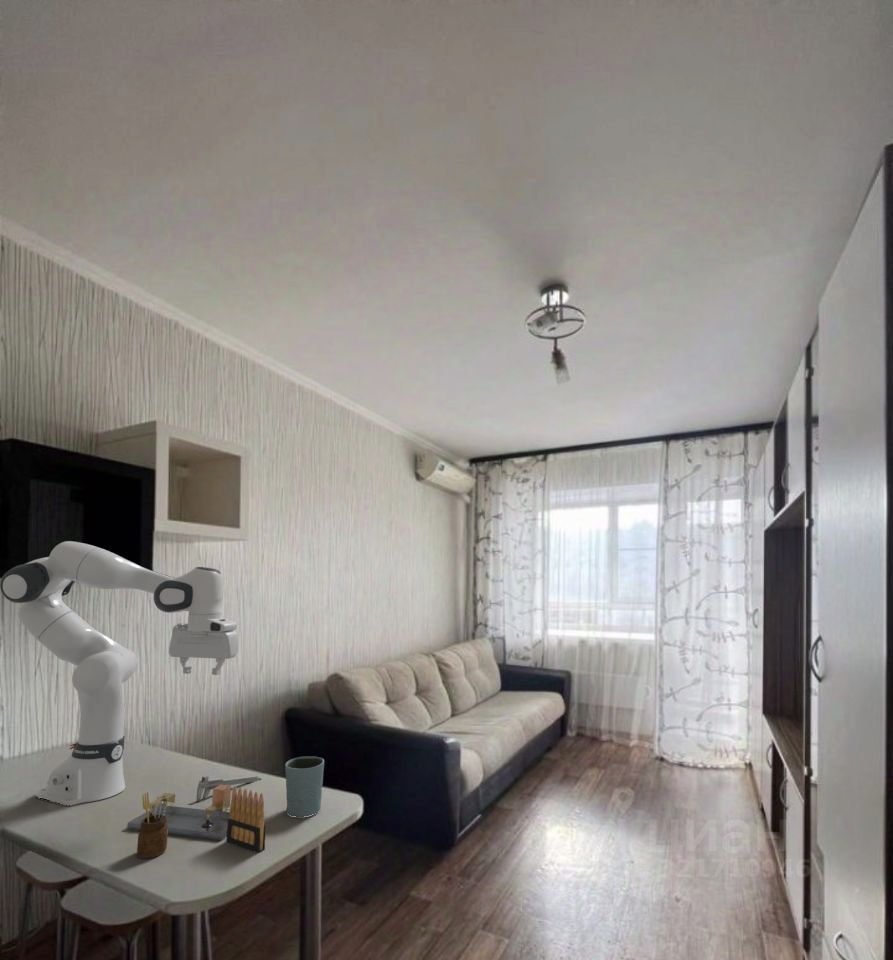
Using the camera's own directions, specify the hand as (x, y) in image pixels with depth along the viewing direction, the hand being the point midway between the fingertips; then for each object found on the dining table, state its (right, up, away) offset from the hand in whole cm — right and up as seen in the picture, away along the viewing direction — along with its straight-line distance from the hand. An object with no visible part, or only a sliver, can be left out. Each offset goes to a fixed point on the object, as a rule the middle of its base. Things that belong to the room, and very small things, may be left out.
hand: (201, 674), depth 158 cm
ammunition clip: (+24, -29, -31) cm, 48 cm away
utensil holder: (+4, -28, -34) cm, 44 cm away
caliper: (+8, -34, +1) cm, 35 cm away
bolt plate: (+6, -30, -21) cm, 37 cm away
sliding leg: (+13, -28, -21) cm, 37 cm away
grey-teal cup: (+32, -32, -13) cm, 47 cm away
